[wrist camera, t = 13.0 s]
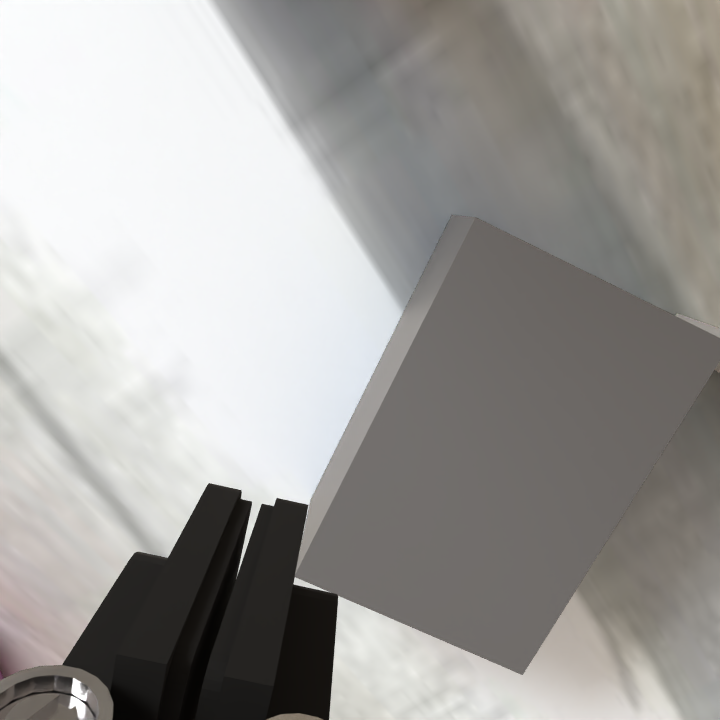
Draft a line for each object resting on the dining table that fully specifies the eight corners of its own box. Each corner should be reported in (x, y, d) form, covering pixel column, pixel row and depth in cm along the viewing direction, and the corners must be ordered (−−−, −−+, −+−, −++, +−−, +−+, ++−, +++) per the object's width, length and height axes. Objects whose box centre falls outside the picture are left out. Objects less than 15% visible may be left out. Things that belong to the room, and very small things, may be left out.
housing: (451, 214, 33) (475, 217, 26) (650, 312, 34) (731, 343, 27) (310, 499, 37) (294, 576, 30) (492, 580, 38) (522, 674, 31)
